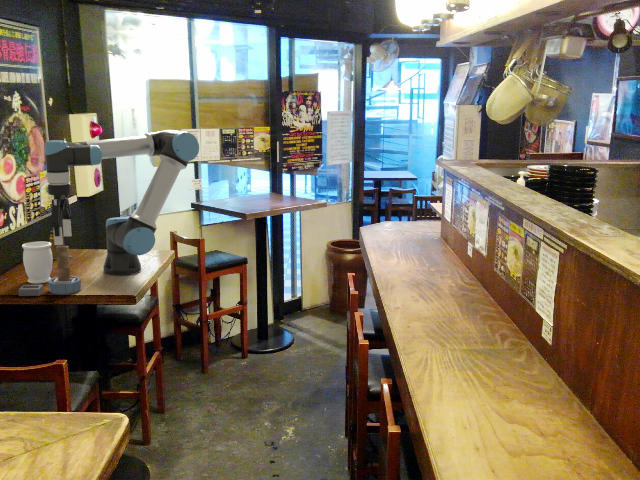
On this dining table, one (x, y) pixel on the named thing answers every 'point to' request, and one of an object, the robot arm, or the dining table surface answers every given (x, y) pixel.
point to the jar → (37, 261)
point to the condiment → (53, 247)
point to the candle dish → (64, 286)
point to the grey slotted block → (31, 290)
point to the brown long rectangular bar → (63, 263)
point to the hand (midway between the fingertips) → (63, 240)
